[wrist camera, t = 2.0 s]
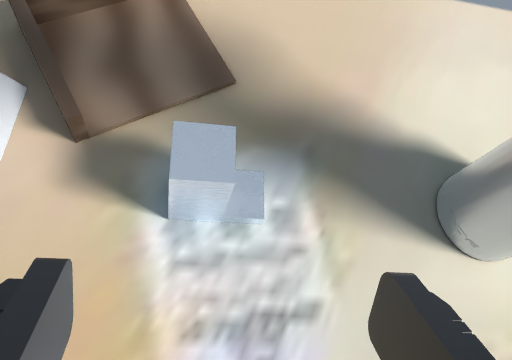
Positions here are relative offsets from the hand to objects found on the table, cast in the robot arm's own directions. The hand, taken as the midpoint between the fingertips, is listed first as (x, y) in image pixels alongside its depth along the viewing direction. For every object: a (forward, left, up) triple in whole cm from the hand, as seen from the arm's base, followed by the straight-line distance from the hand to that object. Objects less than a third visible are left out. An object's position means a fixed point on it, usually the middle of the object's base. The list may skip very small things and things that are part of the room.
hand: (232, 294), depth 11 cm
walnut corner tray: (-7, -26, -24) cm, 36 cm away
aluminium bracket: (-7, -9, -24) cm, 27 cm away
